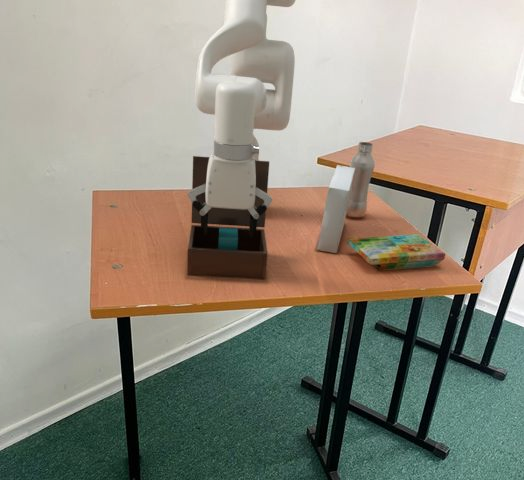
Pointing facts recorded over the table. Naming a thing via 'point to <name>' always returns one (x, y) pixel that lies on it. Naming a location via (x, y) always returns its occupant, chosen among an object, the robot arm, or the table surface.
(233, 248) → the block
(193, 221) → the lid
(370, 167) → the silver metal bottle
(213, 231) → the chest
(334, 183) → the skincare box
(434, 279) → the table surface
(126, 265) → the table surface
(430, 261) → the puzzle game
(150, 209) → the table surface
